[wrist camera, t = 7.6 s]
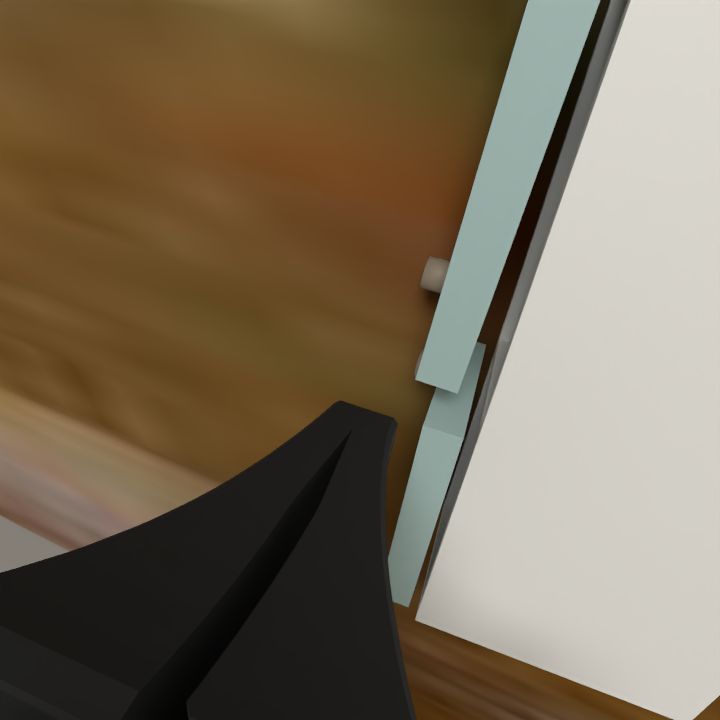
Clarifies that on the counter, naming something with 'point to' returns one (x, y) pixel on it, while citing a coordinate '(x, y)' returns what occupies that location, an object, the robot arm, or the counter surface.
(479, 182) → the door
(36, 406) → the counter surface
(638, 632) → the cabinet
